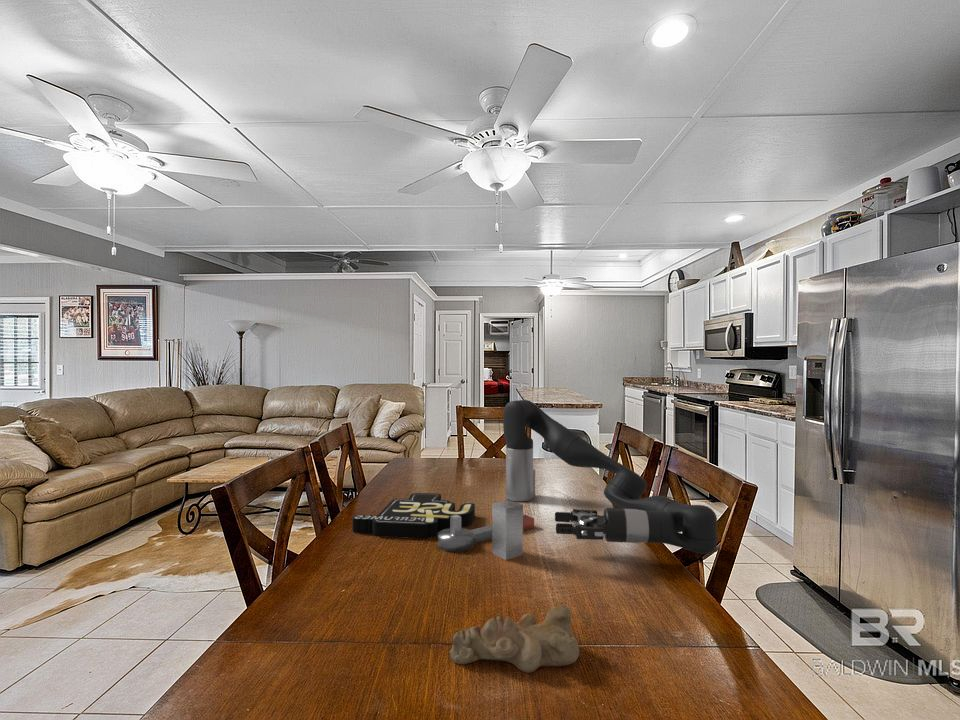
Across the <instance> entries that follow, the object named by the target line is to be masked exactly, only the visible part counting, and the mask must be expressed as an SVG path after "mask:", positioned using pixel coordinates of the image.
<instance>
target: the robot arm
mask: <svg viewBox="0 0 960 720" xmlns="http://www.w3.org/2000/svg"><path fill="white" fill-rule="evenodd" d="M502 423H503V424H502V425H503V427H502V428H503V438H504V441H505V451H506V452H505V499H507V500H511V501H513V502H528V501H531V500H533V499H534V498H536V469H534V440H533V438H532V437H529V436H528V435H527V428H528V429H531V430H532V431H534V432H535V433H537V434H538V435H540V436H541V437H542V438H543V439H544V441H545V443H546V444H547V446H548V447H549V449H550V450H551V452H552V453H553V454H554V455H555V456H556V457H558V458H559V459H560V460H562V461H563V462H565V463H566V464H567V465H570V466H572V467H577V468H591V469H592V468H593V469H601V470H605V471H608V472H611V473H613V474H614V475H613V476H612V478H611V479H610V481H609V482H608V483H607V484H606V485H605V488H604V490H603V495H604V497H605V498H606V499H607V500H608V501H609V502H610V503H611V504H612V505H613V506H615V507H606V508H604V510H603V514H602V515H599V514H598V510H595V509H592V510H591V509H578V508H573V509H572V510H571V511H570V512H567V511H555V513H554V521H555V522H556V524H555V533H556V534H557V535H572V536H573V537H575V538H576V539H577V540H593V541H596V540H597V541H598V540H599V541H603V540H605V541H606V542H607V543H627V544H629V543H630V544H642V543H653V544H666V545H669V546H674V547H679V548H682V549H685V550H687V551H691V552H693V553H697V554H701V555H703V554H704V555H706V554H711V553H712V552H714V551H715V550H716V549H717V545H718V530H717V529H718V518H717V515H716V512H714V510H713V509H712V508H711V507H709V506H707V505H702V504H687V503H682V502H679V501H677V500H675V499H673V498H670V497H668V496H664V495H652V496H648V497H647V496H646V497H642V496H643V495H644V493H645V492H646V490H647V488H648V484H647V483H648V482H647V481H646V480H645V478H643V477H642V476H641V475H639V474H638V473H636V472H635V471H634V470H632V469H630V468H628V467H627V466H625V465H624V464H623V463H622V464H621V463H620V462H619V461H617V460H615V459H613V458H612V457H611V456H609V455H607V454H606V453H603V452H602V451H601V450H599V449H598V448H596V447H595V446H594V445H592V444H591V443H589V442H588V441H587V440H585V439H584V438H582V437H581V436H580V435H578V434H577V433H576V432H573V431H572V430H570V429H569V428H567V427H566V426H564V425H563V424H561V423H560V422H558V420H555V419H553V418H552V417H551V416H549V415H548V414H547V413H546V412H544V410H543V409H541V408H540V407H539V406H538V405H537V404H535V403H534V402H533V401H530V400H527V399H520V400H519V399H517V400H511V401H509V402H508V403H506V404H505V406H504V409H503V413H502ZM713 526H714V527H713Z"/></svg>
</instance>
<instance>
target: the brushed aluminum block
mask: <svg viewBox="0 0 960 720" xmlns="http://www.w3.org/2000/svg"><path fill="white" fill-rule="evenodd" d="M491 506H492V510H491V511H492V513H491V514H492V524H491V525H492V538H491V540H492V541H491V546H492V547H491V549H492V550H491V552H492V553H491V554H493V555H495V556H497V557H499V558H501V559H503V560H504V561H508V560H511V559H515V558H518V557H521V556H523V551H524V550H523V547H524V544H523V542H524V541H523V540H524V538H523V537H524V535H523V534H524V531H523V515H524V505H523V504H521V503H518V502H517V501H512V500H509V499H507V500H503V501H499V502H498V501H497V502H494V503H492V504H491Z"/></svg>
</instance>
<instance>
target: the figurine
mask: <svg viewBox="0 0 960 720" xmlns="http://www.w3.org/2000/svg"><path fill="white" fill-rule="evenodd" d="M571 615H572V614H571V610H570V608H569V607H568V605H560V606H559V605H558V606H555V607H554V608H552V609H550V610H548V612H547V614H546V615H545V617H544V618H545V619H544V621H543V622H541V623H537V619H536V617H535V615H534V614H532V613H524V614H523V615H522V616H521V617H520V619H519V621H517V622H516V621H514V620H513V619H512V618H511V617H510V616H508V615H497V617H491V618H490V619H488V620H487V621H486V622H485V623H484V625H483V626H482V627H480V626H478V625H477V626H476V625H475V626H471V627H470V628H466V629H465V630H464V629H463V630H460V631H457V632H455V634H454V635H453V637H452V647H451V649H450V650H449V656H450V660H451V662H453V663H454V664H455V663H456V664H458V665H467V664H472V663H473V662H477V661H478V660H487V661H488V660H493V661H503V662H508V663H511V664H512V665H514V666H515V667H517V669H518V670H520V671H522V672H524V673H527V674H530V673H533V672H535V671H536V670H537V669H538V668H540V667H564V666H569V665H572V664H573V663H575V662H576V661H577V660H578V658H579V656H580V648H579V643H578V642H579V641H578V640H577V638H576V637H575V636H574V634H573V632H572V627H571V621H572V618H571V617H572V616H571Z"/></svg>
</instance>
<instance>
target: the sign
mask: <svg viewBox="0 0 960 720" xmlns="http://www.w3.org/2000/svg"><path fill="white" fill-rule="evenodd" d="M475 507H476V504H475V503H471V502H470V503H462V504H461V505H460V506H459V508H458V510H456V503H455V502H451V501H449V500H444V499H442V494H441V493H429V492H428V493H427V492H414V493H411V494H410V495H409V497H408V498H397V499H396V498H395V499H391V500H390V502H389V503H388V504H387V505H386V506H385V507H384V508H383V509H382V510H381V511H380V512H379V513H378V514H377V515H375V514H374V515H373V514H356V515H354V516H353V517H352V518H351V519H352V521H351V522H352V524H351V525H352V529H351V531H352V533H362V534H371V535H372V534H373V535H372V536H374V537H377V536H390V537H389V538H400V537H408V538H407V539H422V538H425V539H428V537H429V538H436V537H438V533H439V532H440V531H441V530H444V529H448V528H450V516H453V515H459V516H461V528H464V527H465V528H467V527H470V526H472V525H473V523H474V519H475V517H476V516H475V510H476V509H475ZM465 528H464V529H465Z"/></svg>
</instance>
